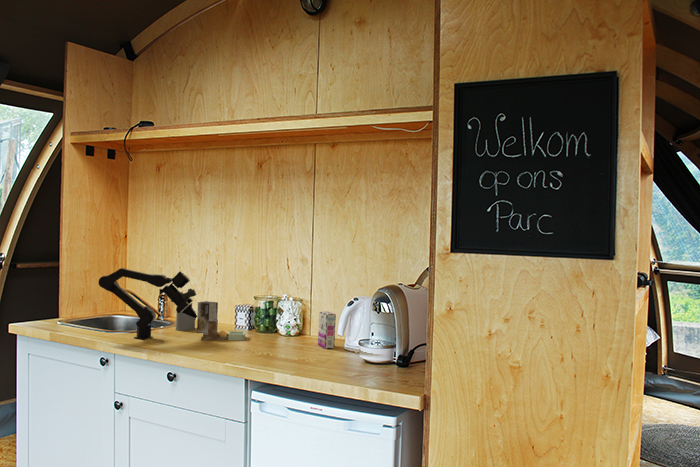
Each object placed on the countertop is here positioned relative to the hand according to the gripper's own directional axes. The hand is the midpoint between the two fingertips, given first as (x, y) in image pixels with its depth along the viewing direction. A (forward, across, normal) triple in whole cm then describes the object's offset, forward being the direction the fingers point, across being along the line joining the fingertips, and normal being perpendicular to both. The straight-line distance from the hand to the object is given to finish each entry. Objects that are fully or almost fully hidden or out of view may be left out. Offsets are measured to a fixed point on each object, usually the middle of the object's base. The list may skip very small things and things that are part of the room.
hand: (196, 317), depth 263 cm
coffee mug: (+2, +28, +13) cm, 31 cm away
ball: (+15, 0, -3) cm, 16 cm away
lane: (+15, 0, 0) cm, 15 cm away
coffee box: (+10, +18, +5) cm, 22 cm away
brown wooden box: (+13, 0, +2) cm, 13 cm away
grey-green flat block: (+22, 0, -7) cm, 23 cm away
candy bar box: (+52, -21, -37) cm, 67 cm away
